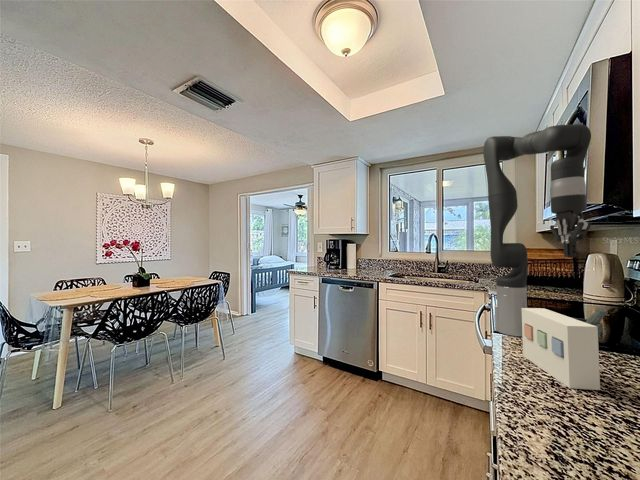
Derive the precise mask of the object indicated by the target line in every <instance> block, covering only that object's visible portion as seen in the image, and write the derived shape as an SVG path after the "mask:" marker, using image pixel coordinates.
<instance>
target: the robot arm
mask: <svg viewBox="0 0 640 480" xmlns="http://www.w3.org/2000/svg"><path fill="white" fill-rule="evenodd" d="M591 139H592V132H591V130H590V128H589V127H588V126H587V125H585V124H584V123H582V124H581V123H578V124H577V123H574V124H558V125H557V124H556V125H552V126H549V127H546V128H544V129H542V130H538V131H534V132H530V133H528V134H526V135H524V136H523V137H520V136H512V135H504V136H503V135H499V136H490V137H488V138H486V140H485V141H484V145H483V151H482V153H483V162H484V167H485V173H486V178H487V179H486V182H487V197H488V198H487V200H488V201H487V202H488V212H489V221H490V223H489V224H490V247H489V248H490V249H489V250H490V261H491V265H492V266H493V267H494V268H496V269H499V268H500V269H504V268H505V269H508V268H509V269H510V268H511V271H510V272H509V273H507V274H505V275H502V276H499V277H497V278H496V279H495V280H496V282H495V284H496V285H495V286H496V304H495V305H494V330H495V332H499V333H500V334H503V335H506V336H507V335H508V336H511V337H513V336H514V337H522V308H528V301H527V299H528V297H527V280H528V251H527V247H526V245H525V244H524V243H521V242H503V241H504V233H505V230H506V228H507V226H508V225H509V224H510V222H511V220H512V219H513V217H514V216H515V214H516V213H517V210H518V207H519V206H518V196H517V195H518V193H517V189H516V187H515V186H514V185H513V183H512V182H511V181H510V179H509V178H508V177H507V176H506V174H505V173H504V172H503V170H502V166H501V162H506V161H510V160H513V159H516V158H518V157H521V156H526V155H538V154H545V153H549V152H563V151H565V152H566V154H565V157H561V158H559V159H555V160H554V161H553V162H552V163H551V164H550V189H549V190H550V191H549V192H550V212H551V213H552V214H555V218H554V220H555V221H554V222H555V223H554V225H550V227H549V229H550V231H551V233H552V234H553V236H554V238H555V240H556V241H557V242H558V243H560V242H561V244H562V245H563V246H562V247H563V256H564V258H576V257H577V251H578V250H577V244H578V243H579V242H582V241H584V239H585V238H586V236H587V234H588V231H589V229H590V228H591V226H592V222H591V221H586V220H585V219H584V217H585V216H584V215H583V212H586V211H587V210H588V207H587V205H588V204H587V185H586V180H585V166H584V165H585V159H586V157H587V152H588V149H589V146H590V142H591Z"/></svg>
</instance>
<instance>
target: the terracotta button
mask: <svg viewBox="0 0 640 480" xmlns="http://www.w3.org/2000/svg"><path fill="white" fill-rule="evenodd" d="M524 336H526V337H527V338H529V339H531V340H533V327H532V326H530V325H524Z"/></svg>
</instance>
